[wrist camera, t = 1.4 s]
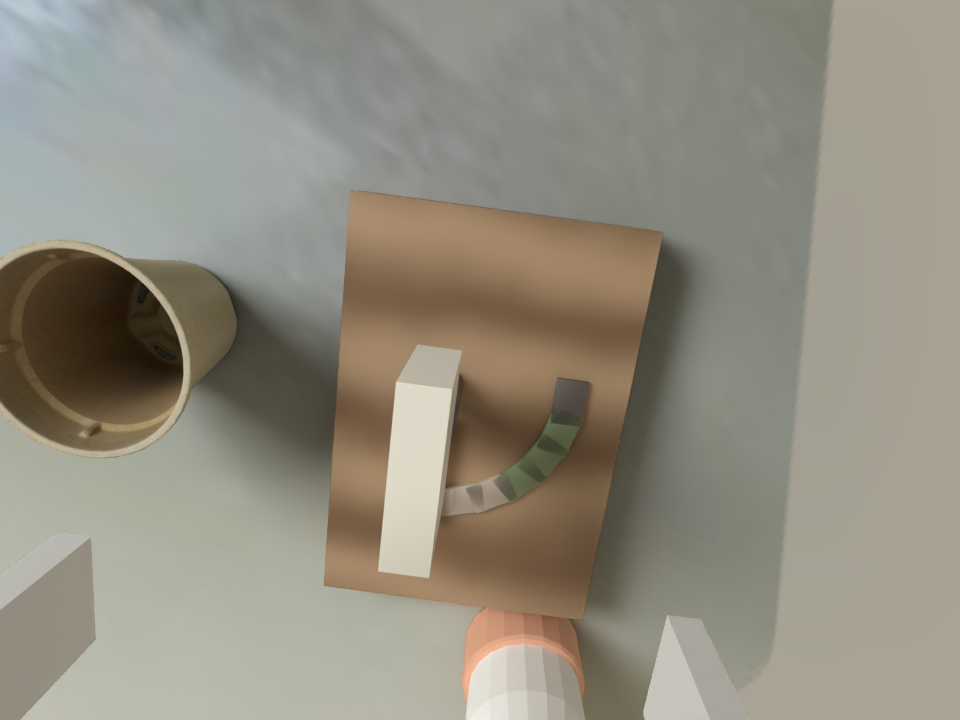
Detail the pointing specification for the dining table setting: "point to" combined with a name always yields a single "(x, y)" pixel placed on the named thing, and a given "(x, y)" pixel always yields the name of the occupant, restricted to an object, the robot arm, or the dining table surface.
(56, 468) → the dining table surface
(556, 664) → the salt shaker
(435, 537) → the white angular block
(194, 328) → the flower pot
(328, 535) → the tuner board
